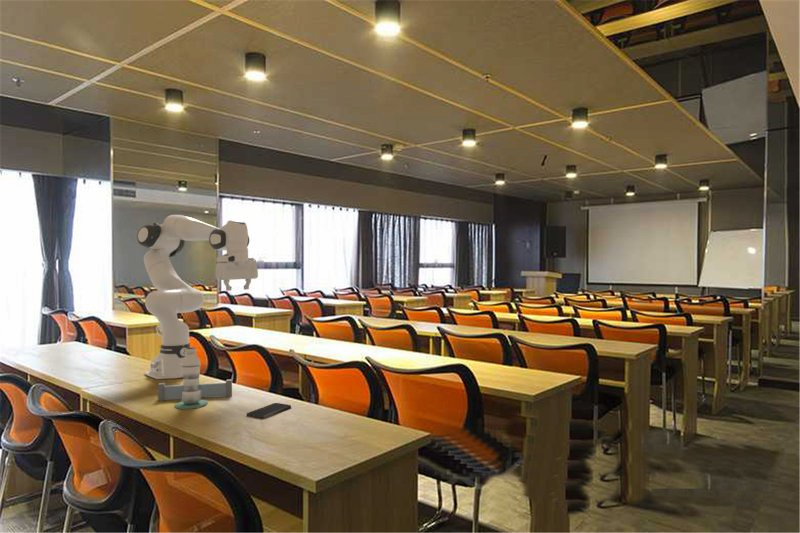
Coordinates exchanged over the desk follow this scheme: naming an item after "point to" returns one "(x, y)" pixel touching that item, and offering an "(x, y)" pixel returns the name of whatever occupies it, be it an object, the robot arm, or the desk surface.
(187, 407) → the mat
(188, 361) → the plastic bottle
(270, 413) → the phone
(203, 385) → the low wall
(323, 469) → the desk surface
